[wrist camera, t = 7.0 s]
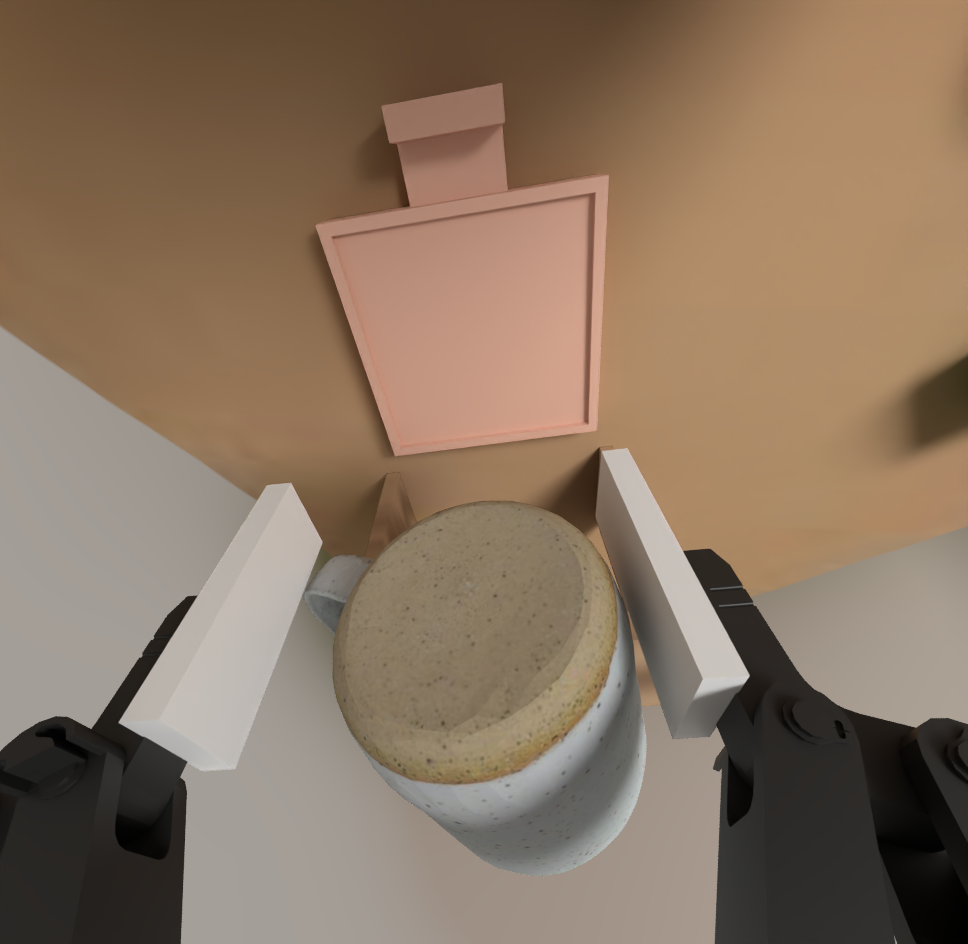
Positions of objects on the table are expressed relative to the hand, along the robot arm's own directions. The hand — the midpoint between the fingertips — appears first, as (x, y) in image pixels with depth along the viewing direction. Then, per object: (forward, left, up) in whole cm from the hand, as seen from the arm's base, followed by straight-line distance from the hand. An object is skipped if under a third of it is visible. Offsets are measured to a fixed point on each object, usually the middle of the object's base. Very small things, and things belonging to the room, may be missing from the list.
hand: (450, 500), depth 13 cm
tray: (0, +1, -16) cm, 16 cm away
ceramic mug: (0, +1, 0) cm, 1 cm away
